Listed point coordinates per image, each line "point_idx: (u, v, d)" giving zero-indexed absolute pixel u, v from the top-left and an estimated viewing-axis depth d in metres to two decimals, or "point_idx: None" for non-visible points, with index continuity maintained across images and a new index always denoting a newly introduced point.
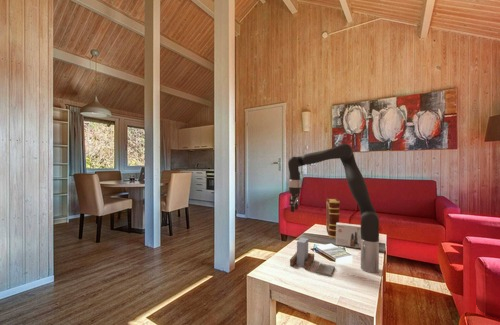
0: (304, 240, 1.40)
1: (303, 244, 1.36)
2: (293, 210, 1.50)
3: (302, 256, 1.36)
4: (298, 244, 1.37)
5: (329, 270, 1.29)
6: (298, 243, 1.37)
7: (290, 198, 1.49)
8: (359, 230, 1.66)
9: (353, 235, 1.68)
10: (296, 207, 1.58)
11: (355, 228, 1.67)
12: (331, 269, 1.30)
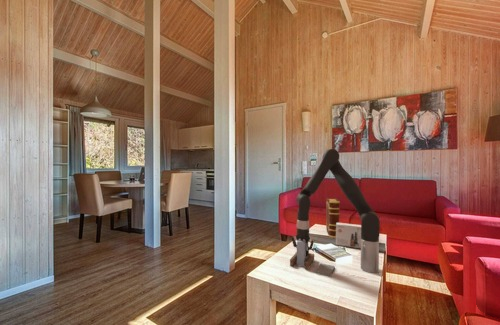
0: None
1: (303, 244, 1.36)
2: None
3: (302, 256, 1.36)
4: (298, 244, 1.37)
5: (329, 270, 1.29)
6: (298, 243, 1.37)
7: (313, 243, 1.37)
8: (359, 230, 1.66)
9: (353, 235, 1.68)
10: None
11: (355, 228, 1.67)
12: (331, 269, 1.30)
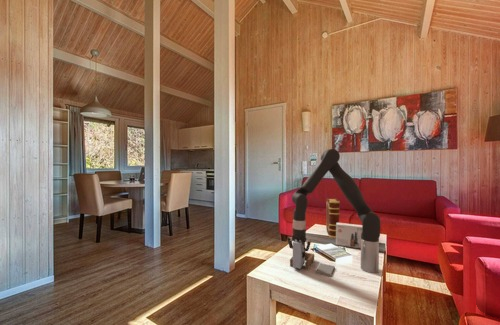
0: None
1: (299, 245, 1.30)
2: None
3: (298, 258, 1.30)
4: (294, 245, 1.31)
5: (329, 270, 1.29)
6: (294, 244, 1.31)
7: (309, 244, 1.31)
8: (359, 230, 1.66)
9: (353, 235, 1.68)
10: None
11: (355, 228, 1.67)
12: (331, 269, 1.30)
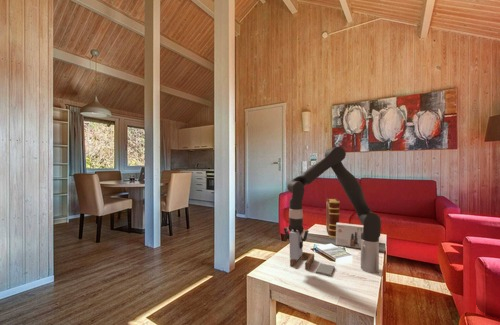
0: None
1: (296, 235, 1.24)
2: None
3: (295, 248, 1.24)
4: (291, 235, 1.25)
5: (329, 270, 1.29)
6: (291, 234, 1.25)
7: (307, 233, 1.25)
8: (359, 230, 1.66)
9: (353, 235, 1.68)
10: None
11: (355, 228, 1.67)
12: (331, 269, 1.30)
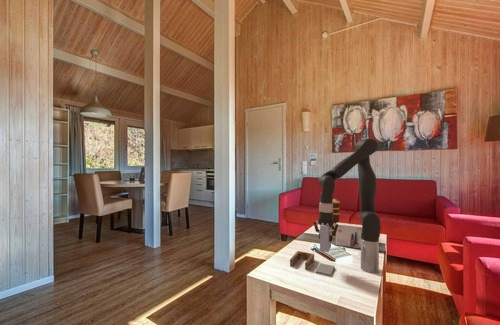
0: None
1: (327, 228, 1.27)
2: None
3: (326, 241, 1.27)
4: (321, 228, 1.28)
5: (329, 270, 1.29)
6: (321, 227, 1.28)
7: (337, 227, 1.28)
8: (359, 230, 1.66)
9: (353, 235, 1.68)
10: None
11: (355, 228, 1.67)
12: (331, 269, 1.30)
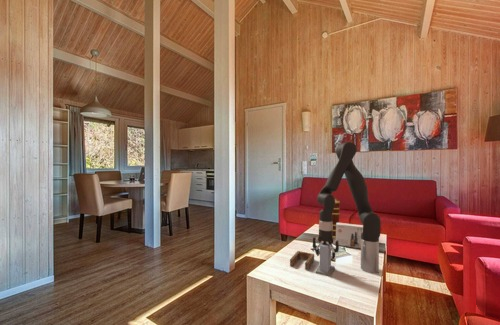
0: None
1: (327, 248, 1.27)
2: None
3: (326, 261, 1.27)
4: (321, 248, 1.28)
5: (329, 270, 1.29)
6: (321, 247, 1.28)
7: (338, 243, 1.27)
8: (359, 230, 1.66)
9: (353, 235, 1.68)
10: (318, 253, 1.33)
11: (355, 228, 1.67)
12: (331, 269, 1.30)
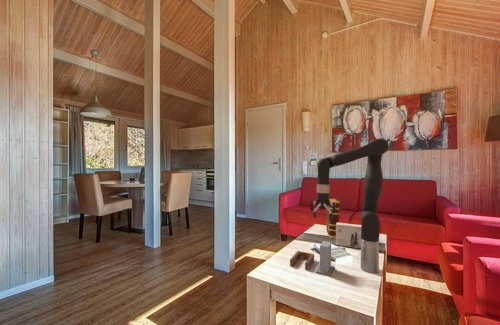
0: (327, 244, 1.31)
1: (327, 248, 1.27)
2: None
3: (326, 261, 1.27)
4: (321, 248, 1.28)
5: (329, 270, 1.29)
6: (321, 247, 1.28)
7: (334, 205, 1.35)
8: (359, 230, 1.66)
9: (353, 235, 1.68)
10: (316, 215, 1.40)
11: (355, 228, 1.67)
12: (331, 269, 1.30)
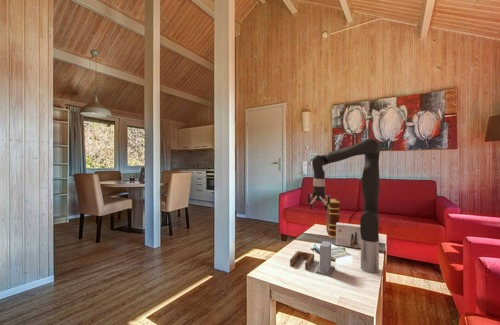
0: (327, 244, 1.31)
1: (327, 248, 1.27)
2: None
3: (326, 261, 1.27)
4: (321, 248, 1.28)
5: (329, 270, 1.29)
6: (321, 247, 1.28)
7: (329, 197, 1.48)
8: (359, 230, 1.66)
9: (353, 235, 1.68)
10: (312, 207, 1.54)
11: (355, 228, 1.67)
12: (331, 269, 1.30)
